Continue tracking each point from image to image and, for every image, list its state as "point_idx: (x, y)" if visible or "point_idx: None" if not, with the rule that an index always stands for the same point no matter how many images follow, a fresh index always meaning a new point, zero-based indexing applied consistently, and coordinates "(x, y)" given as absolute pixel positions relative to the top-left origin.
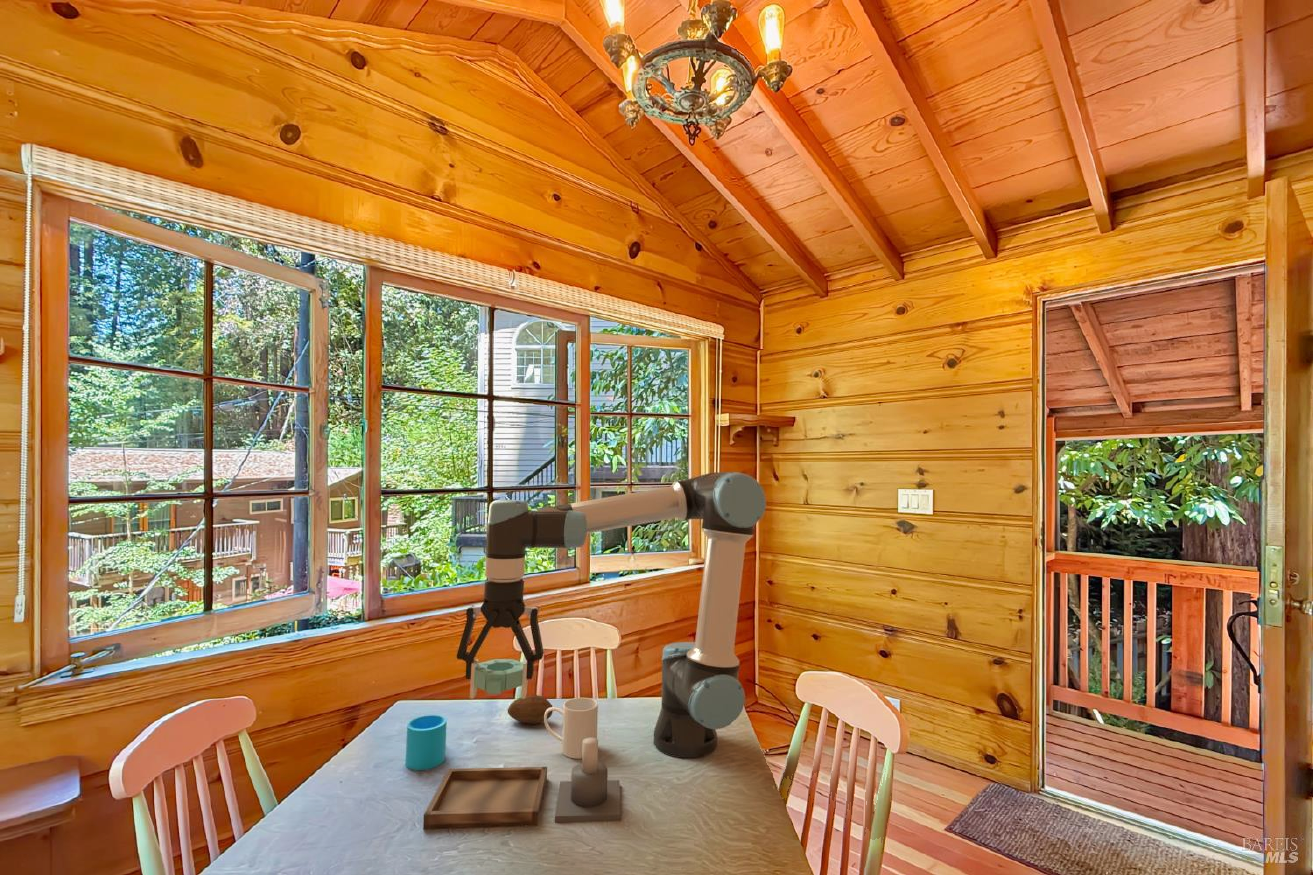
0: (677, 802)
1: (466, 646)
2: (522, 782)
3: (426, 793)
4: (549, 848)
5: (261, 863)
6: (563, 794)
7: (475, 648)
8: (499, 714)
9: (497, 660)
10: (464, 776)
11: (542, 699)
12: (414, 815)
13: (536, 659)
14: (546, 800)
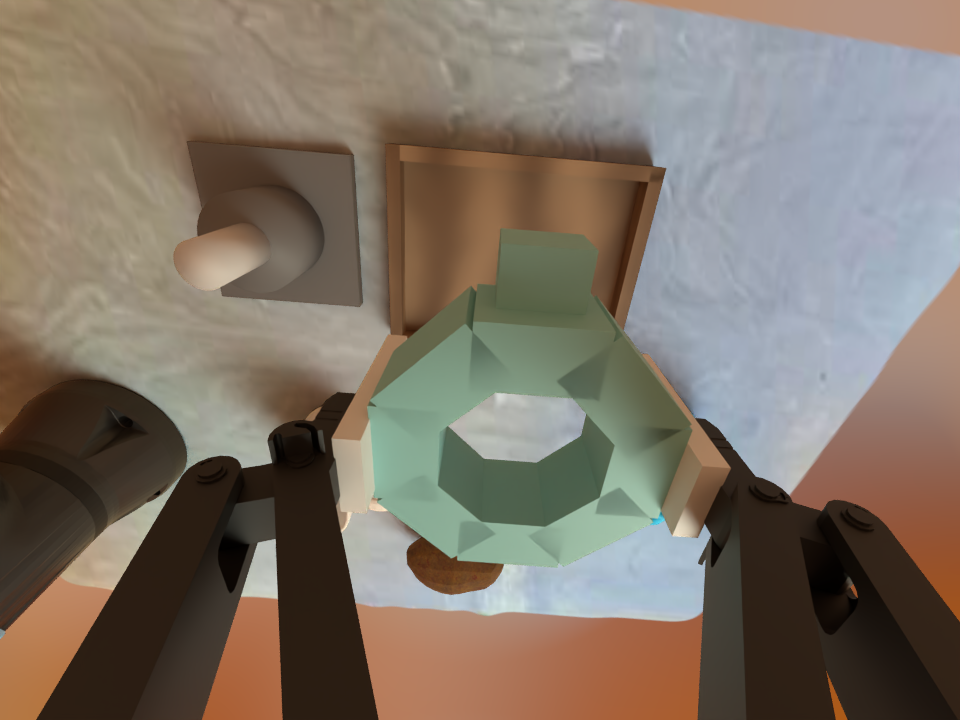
0: (72, 201)
1: (826, 621)
2: None
3: (650, 311)
4: (349, 33)
5: None
6: (343, 250)
7: (772, 569)
8: (520, 570)
9: (545, 551)
10: None
11: (426, 577)
12: (673, 227)
13: (255, 470)
14: (385, 250)
